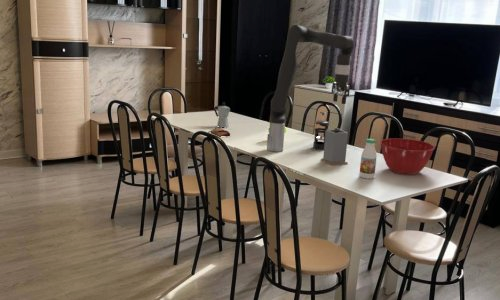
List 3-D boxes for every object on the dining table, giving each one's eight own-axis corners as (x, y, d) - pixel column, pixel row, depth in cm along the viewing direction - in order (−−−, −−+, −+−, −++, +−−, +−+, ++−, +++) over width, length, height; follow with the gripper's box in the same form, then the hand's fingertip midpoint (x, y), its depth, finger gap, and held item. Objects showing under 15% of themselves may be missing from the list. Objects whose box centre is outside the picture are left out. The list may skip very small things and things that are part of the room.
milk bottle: (357, 174, 269) (361, 137, 264) (371, 175, 270) (375, 138, 265) (361, 179, 262) (365, 140, 257) (376, 179, 262) (380, 141, 258)
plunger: (332, 154, 286) (335, 129, 283) (326, 151, 292) (329, 127, 289) (342, 154, 289) (345, 129, 286) (336, 151, 295) (338, 126, 292)
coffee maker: (233, 127, 376) (234, 103, 371) (226, 129, 368) (227, 104, 364) (217, 124, 383) (217, 100, 379) (209, 126, 376) (210, 101, 372)
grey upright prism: (330, 165, 285) (333, 133, 281) (320, 160, 295) (323, 129, 290) (347, 164, 289) (350, 132, 285) (336, 159, 299) (339, 129, 295)
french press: (317, 150, 319) (320, 113, 313) (308, 146, 327) (311, 111, 321) (332, 149, 324) (336, 113, 319) (323, 145, 332) (326, 110, 327)
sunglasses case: (206, 131, 355) (211, 123, 355) (214, 136, 359) (218, 128, 359) (219, 137, 340) (224, 128, 340) (227, 142, 344) (231, 133, 344)
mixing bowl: (406, 181, 262) (409, 151, 258) (366, 167, 285) (369, 140, 282) (442, 175, 277) (446, 147, 273) (401, 162, 300) (404, 136, 297)
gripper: (329, 71, 285) (326, 100, 289) (343, 74, 273) (340, 104, 277) (340, 72, 288) (338, 100, 292) (355, 74, 276) (352, 104, 279)
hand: (339, 102), depth 284 cm, fingers open, 8 cm apart
